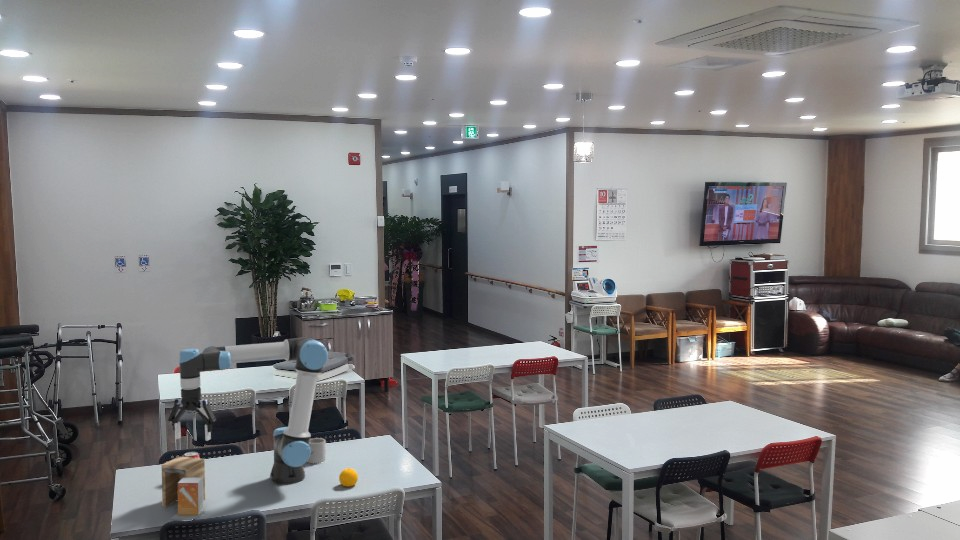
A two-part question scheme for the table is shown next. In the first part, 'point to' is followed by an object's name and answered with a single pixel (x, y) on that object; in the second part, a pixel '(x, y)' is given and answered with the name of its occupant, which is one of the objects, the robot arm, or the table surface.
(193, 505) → the small box
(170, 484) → the dispenser
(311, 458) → the mug
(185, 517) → the pad
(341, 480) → the yellow ball
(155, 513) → the table surface
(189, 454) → the soda can
